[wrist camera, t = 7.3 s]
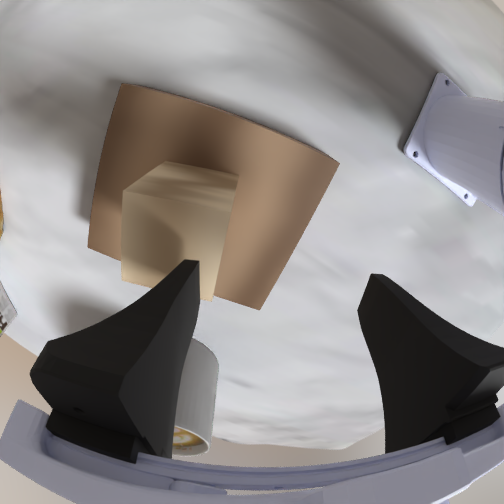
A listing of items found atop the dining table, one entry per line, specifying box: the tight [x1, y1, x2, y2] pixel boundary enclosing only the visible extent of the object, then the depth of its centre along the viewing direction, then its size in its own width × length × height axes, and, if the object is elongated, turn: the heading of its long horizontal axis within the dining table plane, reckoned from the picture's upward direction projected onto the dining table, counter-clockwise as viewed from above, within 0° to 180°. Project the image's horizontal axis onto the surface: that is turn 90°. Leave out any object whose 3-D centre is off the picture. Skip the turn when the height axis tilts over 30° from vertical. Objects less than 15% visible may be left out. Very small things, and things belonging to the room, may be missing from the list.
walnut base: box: [88, 83, 340, 310], centre depth 18 cm, size 14×12×3 cm
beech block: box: [121, 161, 239, 302], centre depth 14 cm, size 4×4×6 cm
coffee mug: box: [172, 338, 219, 456], centre depth 24 cm, size 13×10×10 cm
